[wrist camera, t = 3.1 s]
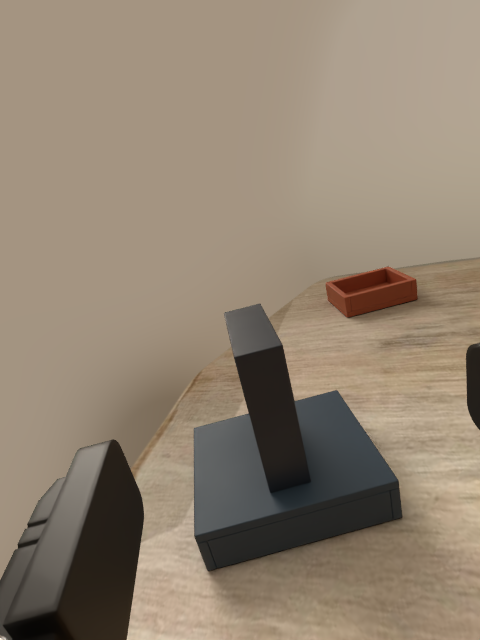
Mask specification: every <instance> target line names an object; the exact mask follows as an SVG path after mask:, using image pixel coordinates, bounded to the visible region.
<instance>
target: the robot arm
mask: <svg viewBox="0 0 480 640" xmlns="http://www.w3.org/2000/svg"><path fill="white" fill-rule="evenodd" d="M466 372H467V406H468V410H469V413H470V416H471V418H472V420H473V422H474V423H475V425H476V426H477V427H478V429H479V430H480V343H477V344H473V345H471V346H469V348H468V350H467V353H466ZM143 522H144V509H143V502H142V497H141V494H140V491H139V488H138V486H137V484H136V481H135V479H134V477H133V474H132V472H131V470H130V467H129V465H128V463H127V460H126V458H125V456H124V453H123V451H122V449H121V447H120V445H119V443H118V442H117V441H116V440H110V441H106V442H102V443H99V444H95V445H91V446H87V447H84V448H80V449H79V450H78V451H77V452H76V454H75V456H74V459H73V461H72V463H71V466H70V468H69V471H68V473H67V475H66V477H63V478H60V479H57V480H56V481H55V483H54V484H53V485H52V486H51V487H50V488H49V489H48V491H47V492H46V493H45V494H44V495H43V496H42V497H41V499H40V500H39V501H38V503H37V505H36V507H35V509H34V511H33V513H32V516H31V518H30V520H29V522H28V524H27V525H28V528H27V529H25V530H24V532H23V534H22V536H21V538H20V540H19V543H18V549H16V550H15V551H14V553H13V555H12V557H11V559H10V561H9V563H8V565H7V567H6V570H5V572H4V574H3V576H2V578H1V580H0V640H127V633H128V626H129V619H130V612H131V605H132V599H133V592H134V585H135V578H136V571H137V564H138V557H139V550H140V543H141V536H142V530H143Z"/></svg>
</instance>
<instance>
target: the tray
mask: <svg viewBox="0 0 480 640" xmlns="http://www.w3.org/2000/svg"><path fill="white" fill-rule="evenodd" d="M326 290H327V296H328V301H330V302H331V303H332V304H333V305H334V306H335V307H336V308H337V309H338V310H340V311H341V312H342V313H343V314H344V315H345V316H346V317H352V316H355V315H359V314H363V313H367V312H371V311H375V310H378V309H382V308H386V307H390V306H394V305H398V304H401V303H405V302H409V301H413V300H417V283H416V279H414V278H412V277H410V276H408V275H406V274H403V273H401V272H399V271H397V270H395V269H392V268H390V267H385V268H381V269H377V270H373V271H369V272H365V273H361V274H357V275H353V276H350V277H346V278H342V279H338V280H334V281H330V282H326Z"/></svg>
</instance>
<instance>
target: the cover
mask: <svg viewBox="0 0 480 640" xmlns="http://www.w3.org/2000/svg"><path fill="white" fill-rule="evenodd" d="M224 316H225V320H226V325H227V329H228V333H229V337H230V341H231V346H232V351H233V355H234V359H235V363H236V367H237V370H238V374H239V378H240V382H241V385H242V389H243V393H244V397H245V401H246V404H247V408H248V412H249V414H245V415H242V416H238V417H234V418H230V419H226V420H223V421H219V422H215V423H211V424H208V425H204V426H200V427H196V428H194V536H195V539H196V542H197V544H198V547H199V550H200V552H201V555H202V558H203V560H204V563H205V565H206V568H207V570H208V571H210V570H214V569H216V568H221V567H224V566H228V565H232V564H235V563H239V562H243V561H246V560H250V559H253V558H257V557H261V556H264V555H268V554H271V553H275V552H279V551H282V550H286V549H290V548H293V547H297V546H300V545H304V544H308V543H311V542H315V541H318V540H322V539H326V538H329V537H333V536H337V535H340V534H344V533H347V532H351V531H355V530H358V529H362V528H365V527H369V526H373V525H376V524H380V523H384V522H387V521H391V520H393V519H398V518H402V510H401V501H400V491H399V481H398V479H397V478H396V476H395V475H394V473H393V472H392V470H391V469H390V467H389V466H388V464H387V463H386V462H385V460H384V459H383V457H382V456H381V454H380V453H379V451H378V450H377V448H376V447H375V445H374V444H373V442H372V441H371V439H370V438H369V437H368V435H367V434H366V432H365V431H364V429H363V428H362V426H361V425H360V423H359V422H358V420H357V419H356V417H355V416H354V414H353V413H352V412H351V410H350V409H349V407H348V406H347V404H346V403H345V401H344V400H343V398H342V397H341V395H340V394H339V392H338V391H337V390H335V391H332V392H328V393H324V394H320V395H317V396H313V397H309V398H305V399H302V400H298V401H294V397H293V392H292V387H291V383H290V378H289V373H288V368H287V364H286V359H285V354H284V349H283V345H282V343H281V341H280V339H279V337H278V336H277V334H276V332H275V330H274V328H273V326H272V324H271V323H270V321H269V319H268V317H267V315H266V314H265V312H264V310H263V308H262V306H261V304H256V305H252V306H249V307H245V308H241V309H237V310H233V311H229V312H225V313H224Z"/></svg>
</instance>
